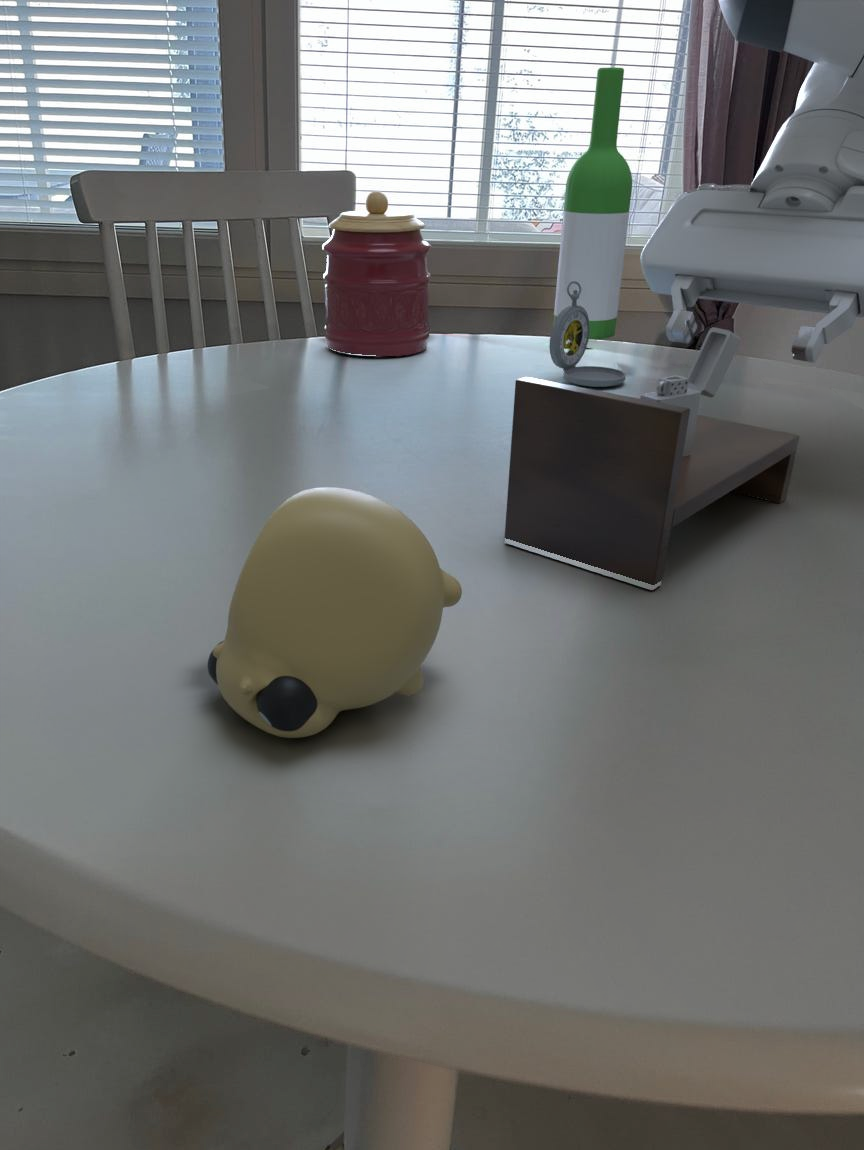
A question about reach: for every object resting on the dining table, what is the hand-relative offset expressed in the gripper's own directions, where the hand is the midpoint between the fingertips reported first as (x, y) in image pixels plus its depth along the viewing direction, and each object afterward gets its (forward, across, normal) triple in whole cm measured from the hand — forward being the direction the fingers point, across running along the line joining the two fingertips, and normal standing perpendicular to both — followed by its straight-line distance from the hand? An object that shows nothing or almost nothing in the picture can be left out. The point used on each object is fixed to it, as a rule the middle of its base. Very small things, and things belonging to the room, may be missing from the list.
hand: (736, 346), depth 68 cm
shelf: (+14, 0, +1) cm, 14 cm away
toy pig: (+37, -1, -22) cm, 43 cm away
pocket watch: (-9, -25, +24) cm, 36 cm away
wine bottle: (-20, -35, +36) cm, 54 cm away
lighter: (+10, 0, -2) cm, 11 cm away
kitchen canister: (-7, -53, +22) cm, 58 cm away
